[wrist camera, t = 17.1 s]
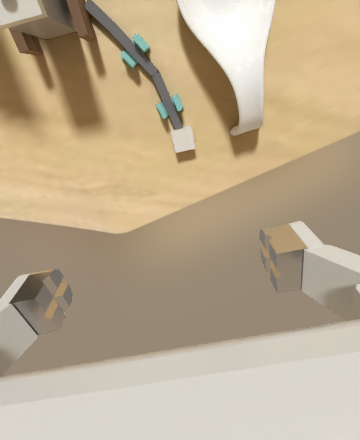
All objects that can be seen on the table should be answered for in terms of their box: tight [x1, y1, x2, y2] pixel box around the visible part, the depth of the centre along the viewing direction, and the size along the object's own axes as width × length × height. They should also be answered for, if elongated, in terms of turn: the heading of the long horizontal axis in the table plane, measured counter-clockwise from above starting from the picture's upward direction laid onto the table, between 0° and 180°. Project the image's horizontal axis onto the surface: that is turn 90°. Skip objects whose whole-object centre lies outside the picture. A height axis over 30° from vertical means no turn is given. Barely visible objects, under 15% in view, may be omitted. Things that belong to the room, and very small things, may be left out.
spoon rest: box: [176, 0, 276, 136], centre depth 31 cm, size 24×12×7 cm, turn 18°
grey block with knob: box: [0, 0, 77, 40], centre depth 26 cm, size 5×5×12 cm
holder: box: [9, 0, 97, 55], centre depth 29 cm, size 9×8×4 cm
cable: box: [85, 0, 195, 153], centre depth 35 cm, size 4×22×2 cm, turn 32°
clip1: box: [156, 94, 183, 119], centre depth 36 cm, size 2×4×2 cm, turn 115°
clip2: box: [120, 34, 150, 69], centre depth 33 cm, size 2×4×2 cm, turn 136°
